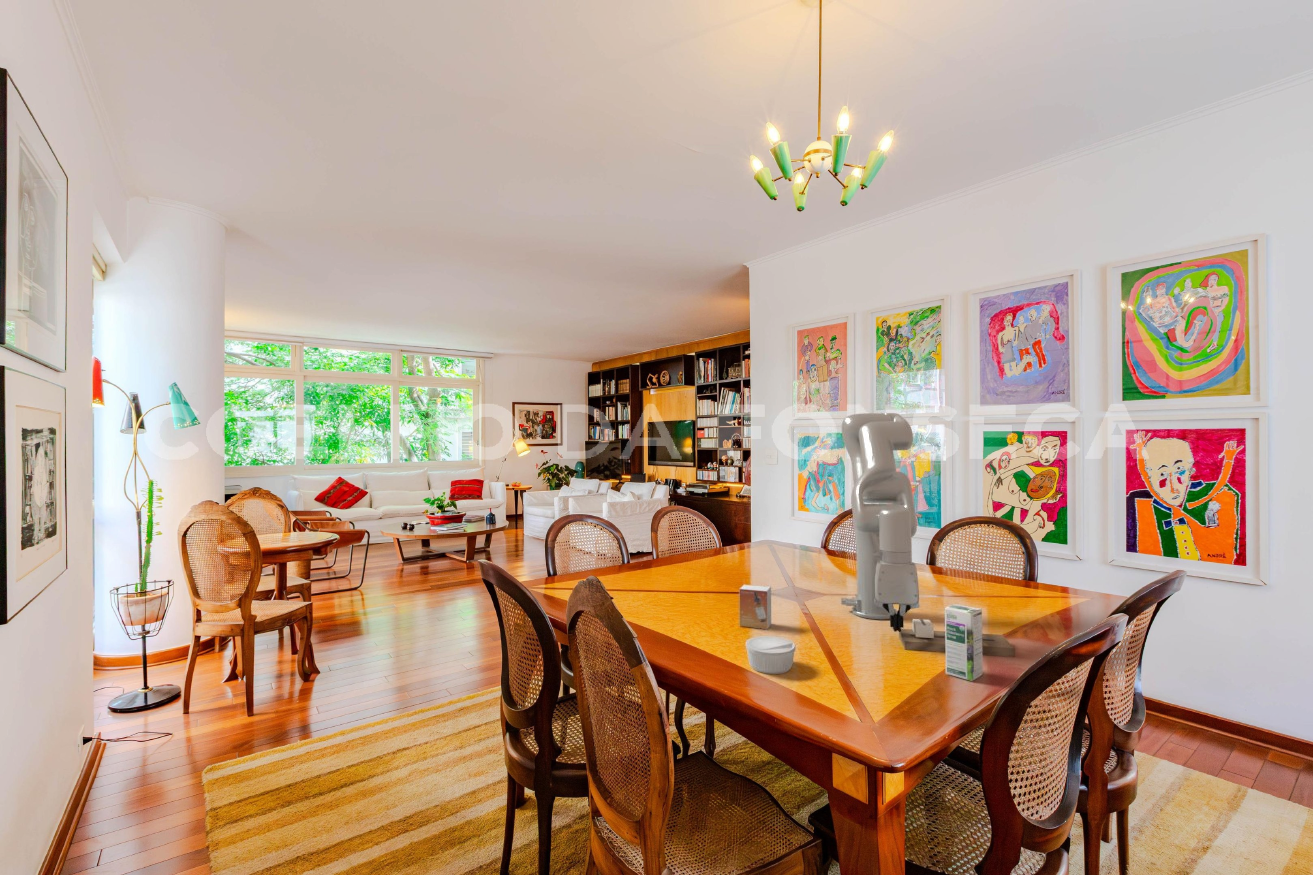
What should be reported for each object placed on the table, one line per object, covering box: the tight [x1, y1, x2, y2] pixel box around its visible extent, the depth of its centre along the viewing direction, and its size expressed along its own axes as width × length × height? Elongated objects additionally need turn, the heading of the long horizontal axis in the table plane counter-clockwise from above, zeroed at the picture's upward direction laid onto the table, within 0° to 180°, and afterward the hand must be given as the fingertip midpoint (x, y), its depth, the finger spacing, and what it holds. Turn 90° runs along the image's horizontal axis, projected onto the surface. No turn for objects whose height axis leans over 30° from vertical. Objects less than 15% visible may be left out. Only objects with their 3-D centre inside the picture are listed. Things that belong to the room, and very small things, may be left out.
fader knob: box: [912, 618, 935, 638], centre depth 149 cm, size 4×5×3 cm
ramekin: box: [745, 635, 796, 675], centre depth 136 cm, size 11×11×5 cm
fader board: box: [898, 628, 1016, 658], centre depth 148 cm, size 24×10×2 cm, turn 76°
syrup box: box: [944, 603, 984, 682], centre depth 130 cm, size 6×6×14 cm
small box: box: [738, 584, 772, 630], centre depth 167 cm, size 8×6×10 cm
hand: (896, 629), depth 151 cm, fingers closed
